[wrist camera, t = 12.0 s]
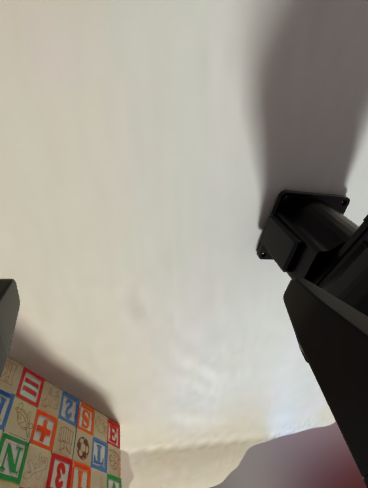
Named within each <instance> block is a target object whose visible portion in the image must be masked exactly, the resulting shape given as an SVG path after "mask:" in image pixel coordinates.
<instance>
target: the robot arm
mask: <svg viewBox="0 0 368 488" xmlns="http://www.w3.org/2000/svg"><path fill="white" fill-rule="evenodd" d="M285 196H287V197H286V198H285V199H283V198H284V197H285ZM342 202H343V203H342ZM349 202H350V199H349V198H348V197H346V196H343V195H332V194H320V193H309V192H298V191H287V190H286V191H282V192H281V193H280V194H279V196H278V198H277V201H276V203H275V206H274V209H273V211H272V214H271V216H270V218H269V220H268V223H267V226H266V228H265V231H264V233H263V236H262V239H261V243H260V246H259V248H258V251H257V255H258V257H259V258H260V259H272V260H275V262H276V263H277V264H278V266H279V267H280V268H281V270H282V271H283V272H287V273H288V275H289V276H290V277H291V279H292V280H291V281H290V283H289V285H288V287H287V289H286V291H285V293H284V296H283V299H284V303H285V306H286V309H287V311H288V314H289V317H290V320H291V323H292V325H293V328H294V331H295V334H296V337H297V341H298V344H299V347H300V350H301V352H302V354H303V356H304V358H305V360H306V362H308V363H309V365H310V367H311V369H312V371H313V373H314V375H315V378H316V380H317V382H318V384H319V386H320V388H321V390H322V392H323V395H324V397H325V399H326V401H327V403H328V405H329V407H330V410H331V412H332V414H333V416H334V418H335V420H336V422H337V424H338V427H339V429H340V431H341V433H342V435H343V437H344V439H345V441H346V444H347V446H348V448H349V450H350V452H351V454H352V456H353V458H354V461H355V463H356V464H357V467H358V469H359V471H360V473H361V476H362V477H363V480H364V482H365V484H366V487H367V488H368V215H367V216H366V217H365V218H364V222H363V223H362V224H361V225H360V227H359V226H357V225H356V224H355V223H353V222H352V221H350V220H349V219H348V218H346V217H345V216H344V215H343V214H344V212H345V210H346V208H347V206H348V204H349ZM262 253H264V254H262ZM19 306H20V299H19V294H18V290H17V285H16V282H15V280H14V279H0V377H1V375H2V372H3V369H4V366H5V364H6V360H7V357H8V354H9V350H10V346H11V341H12V337H13V333H14V328H15V324H16V320H17V315H18V311H19Z"/></svg>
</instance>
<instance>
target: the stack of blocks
mask: <svg viewBox="0 0 368 488" xmlns="http://www.w3.org/2000/svg"><path fill="white" fill-rule="evenodd" d="M0 488H121V478H120V425H119V424H117V423H115V422H113V421H112V420H110V419H108V418H107V417H106V416H105V415H103V414H101V413H100V412H98V411H96V410H94V409H93V408H91V407H90V406H88V405H86V404H85V403H83V402H82V401H79V400H77V399H76V398H74V397H72V396H71V395H69V394H67V393H66V392H64V391H62V390H60V389H59V388H57V387H55V386H54V385H52V384H50V383H49V382H47V381H45V380H44V379H43V378H41V377H40V376H38V375H36V374H35V373H33V372H31V371H30V370H28V369H26V368H25V367H23V366H22V365H20V364H18V363H17V362H15V361H13V360H12V359H10V358H8V357H7V360H6V364H5V366H4V369H3V372H2V375H1V377H0Z"/></svg>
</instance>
